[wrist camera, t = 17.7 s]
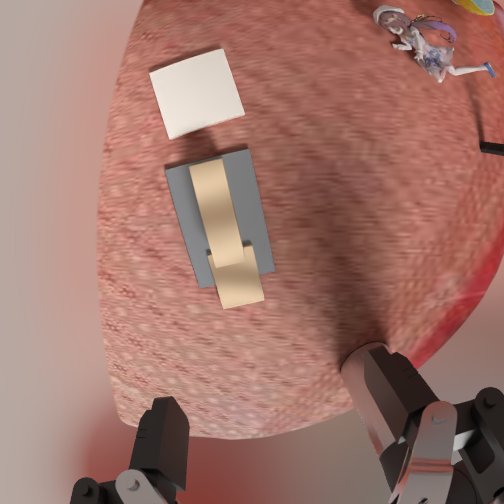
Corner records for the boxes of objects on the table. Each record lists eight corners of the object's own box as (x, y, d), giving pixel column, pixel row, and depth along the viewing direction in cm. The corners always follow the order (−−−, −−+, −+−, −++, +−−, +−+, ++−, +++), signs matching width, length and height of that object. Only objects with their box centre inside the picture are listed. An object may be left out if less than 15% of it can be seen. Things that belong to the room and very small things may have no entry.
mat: (274, 268, 33) (275, 270, 32) (200, 286, 32) (200, 288, 32) (248, 148, 28) (249, 148, 27) (166, 170, 27) (165, 170, 27)
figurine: (425, 97, 29) (347, 36, 24) (443, 55, 25) (369, -8, 20) (484, 115, 20) (405, 27, 14) (500, 65, 15) (426, -24, 10)
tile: (244, 114, 25) (222, 48, 22) (169, 139, 25) (149, 73, 23) (244, 116, 27) (222, 53, 24) (172, 139, 27) (153, 76, 24)
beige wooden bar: (263, 297, 33) (268, 315, 29) (223, 306, 33) (223, 325, 29) (232, 155, 27) (232, 156, 23) (184, 167, 27) (178, 169, 23)
